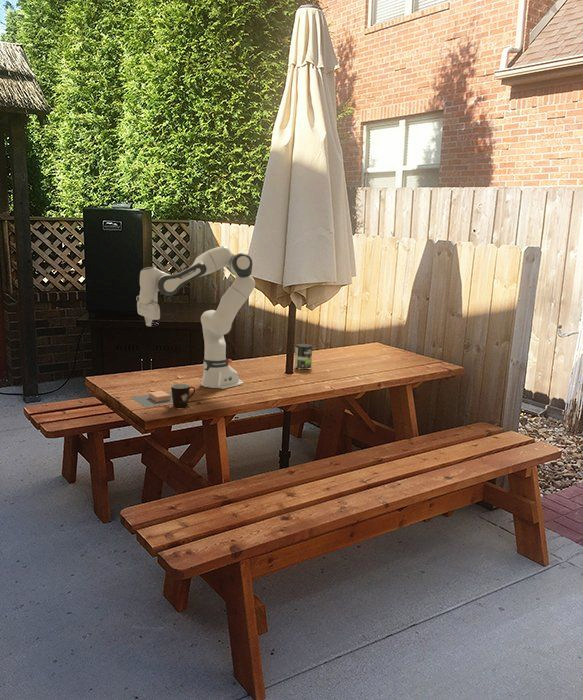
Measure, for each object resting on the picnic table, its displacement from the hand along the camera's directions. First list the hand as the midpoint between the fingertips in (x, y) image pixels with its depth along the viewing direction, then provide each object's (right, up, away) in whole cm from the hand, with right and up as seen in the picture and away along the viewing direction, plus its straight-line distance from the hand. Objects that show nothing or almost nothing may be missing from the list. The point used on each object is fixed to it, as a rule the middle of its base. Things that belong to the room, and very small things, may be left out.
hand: (148, 325), depth 326 cm
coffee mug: (+23, -39, -28) cm, 53 cm away
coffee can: (+80, -23, +58) cm, 101 cm away
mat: (+9, -36, -19) cm, 42 cm away
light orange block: (+7, -34, -16) cm, 38 cm away
